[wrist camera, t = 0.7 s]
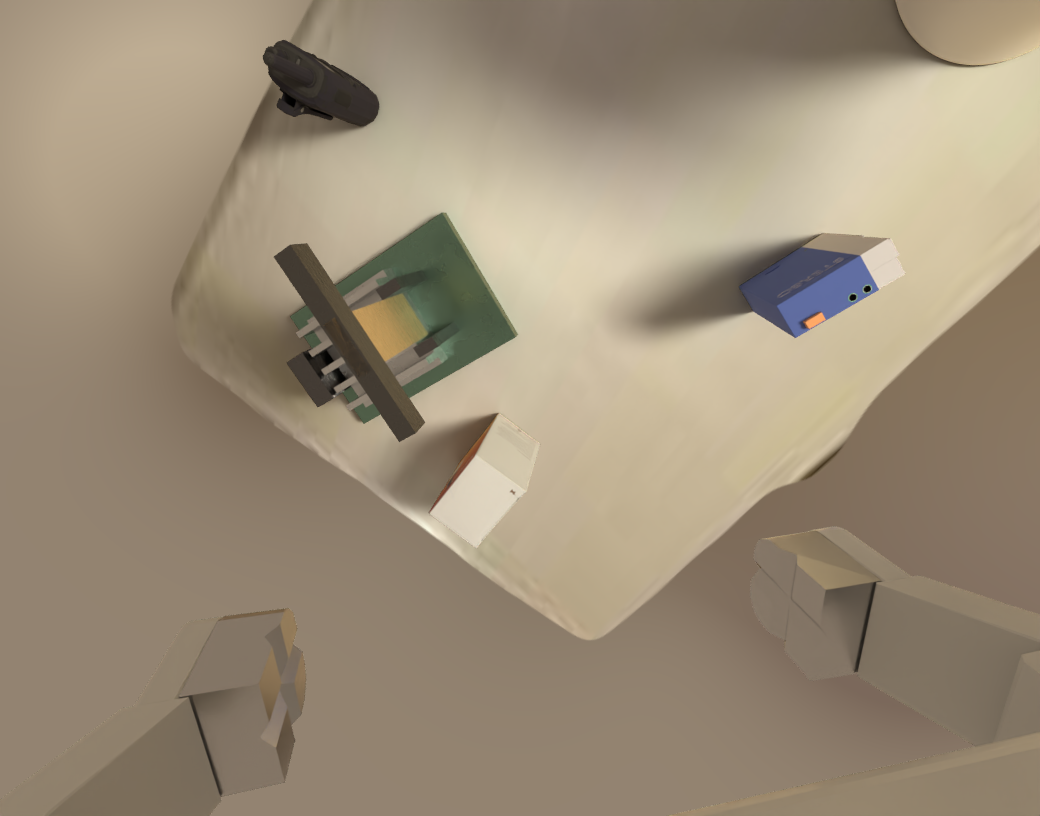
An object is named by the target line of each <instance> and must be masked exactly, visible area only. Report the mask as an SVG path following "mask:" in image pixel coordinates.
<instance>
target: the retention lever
mask: <svg viewBox="0 0 1040 816" xmlns="http://www.w3.org/2000/svg"><path fill="white" fill-rule="evenodd" d="M274 258H275V259H276V261H277V262H278V264H279V265H280V267H281V268H282V270H283V271H284V273H285V274H286V275H287V277H288V278H289V280H290V281H291V283H292V284H293V286H294V287H295V289H296V290H297V292H298V293H299V295H300V296H301V298H302V299H303V301H304V302H305V304H306V305H307V306H308V308H309V309H310V311H311V312H312V314H313V315H314V317H315V318H316V320H317V321H318V323H319V324H320V326H321V327H322V329H323V330H324V332H325V333H326V335H327V336H328V337H329V339H330V340H331V342H332V343H333V345H334V346H335V348H336V349H337V351H338V352H339V354H340V355H341V357H342V358H343V360H344V361H345V363H346V364H347V366H348V367H349V368H350V370H351V371H352V373H353V374H354V376H355V377H356V379H357V380H358V382H359V383H360V385H361V386H362V388H363V389H364V391H365V392H366V394H367V395H368V397H369V398H370V399H371V401H372V402H373V404H374V405H375V407H376V408H377V410H378V411H379V413H380V414H381V416H382V417H383V419H384V420H385V422H386V423H387V425H388V426H389V428H390V429H391V430H392V432H393V433H394V435H395V436H396V438H397V439H398V441H399V442H400V441H402V440H404V439H406V438H408V437H409V436H411V435H413V434H415V433H416V432H417V431H418V430H419V429H420V428H421V427H422V426H423V424H424V423H425V422H424V420H423V418H422V417H421V415H420V414H419V412H418V411H417V409H416V408H415V406H414V405H413V403H412V402H411V400H410V399H409V397H408V396H407V394H406V393H405V391H404V390H403V388H402V387H401V385H400V384H399V382H398V381H397V379H396V378H395V376H394V375H393V373H392V371H391V370H390V368H389V367H388V365H387V364H386V361H387V360H389V359H390V358H392V357H393V356H395V355H397V354H398V353H400V352H401V351H403V350H404V349H406V348H408V347H409V346H411V345H412V344H414V343H415V342H417V341H419V340H420V339H422V338H423V337H425V336H426V335H428V333H427V331H426V330H425V328H424V327H423V325H422V323H421V322H420V320H419V319H418V317H417V315H416V314H415V312H414V311H413V309H412V308H411V306H410V304H409V303H408V301H407V300H406V298H405V296H404V295H403V293H402V294H399V295H396V296H393V297H390V298H388V299H385V300H382V301H379V302H376V303H374V304H371V305H368V306H365V307H362V308H360V309H357V310H354V311H351V309H350V308H349V306H348V305H347V303H346V302H345V300H344V299H343V297H342V296H341V294H340V293H339V291H338V290H337V288H336V287H335V285H334V284H333V282H332V280H331V279H330V277H329V276H328V274H327V273H326V271H325V270H324V268H323V267H322V265H321V264H320V262H319V261H318V259H317V258H316V256H315V255H314V253H313V252H312V250H311V249H310V247H309V246H308V244H307V243H306V244H294V245H289V246H288V247H286V248H285V249H284V250H282V251H281V252H280V253H278V254H277V255H276V256H274Z"/></svg>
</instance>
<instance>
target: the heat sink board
mask: <svg viewBox="0 0 1040 816" xmlns="http://www.w3.org/2000/svg"><path fill="white" fill-rule="evenodd" d="M335 287H336V288H337V290H338V291H339V293H340V294H341V296H342V297H343V299H344V300H345V302H346V303H347V305H348V306H349V308H350V309H351V311H354V310H357V309H360V308H362V307H365V306H368V305H371V304H374V303H376V302H379V301H382V300H385V299H388V298H390V297H393V296H396V295H399V294H402V293H403V295H404V296H405V298H406V300H407V301H408V303H409V304H410V306H411V308H412V309H413V311H414V312H415V314H416V315H417V317H418V319H419V320H420V322H421V323H422V325H423V327H424V328H425V330H426V331H427V333H428V335H426V336H425V337H423V338H422V339H420V340H419V341H417V342H415V343H414V344H412V345H411V346H409V347H408V348H406V349H404V350H403V351H401V352H400V353H398V354H397V355H395V356H393V357H392V358H390V359H389V360H387V361H386V364H387V365H388V367H389V368H390V370H391V371H392V373H393V375H394V376H395V378H396V379H397V381H398V382H399V384H400V385H401V387H402V388H403V390H404V391H405V393H406V394H407V396H408V397H409V398H410V397H412V396H413V395H415V394H417V393H419V392H420V391H422V390H424V389H426V388H427V387H429V386H431V385H433V384H434V383H436V382H438V381H440V380H441V379H443V378H445V377H447V376H448V375H450V374H452V373H454V372H455V371H457V370H459V369H461V368H462V367H464V366H466V365H468V364H469V363H471V362H473V361H475V360H476V359H478V358H480V357H482V356H483V355H485V354H487V353H489V352H490V351H492V350H494V349H496V348H497V347H499V346H501V345H503V344H504V343H506V342H508V341H510V340H511V339H513V338H515V337H516V336H517V335H518V334H517V332H516V330H515V329H514V327H513V325H512V324H511V322H510V320H509V319H508V317H507V315H506V314H505V312H504V310H503V308H502V307H501V305H500V303H499V302H498V300H497V298H496V297H495V295H494V293H493V292H492V290H491V288H490V287H489V285H488V283H487V281H486V280H485V278H484V276H483V275H482V273H481V271H480V270H479V268H478V266H477V265H476V263H475V261H474V259H473V258H472V256H471V254H470V253H469V251H468V249H467V248H466V246H465V244H464V243H463V241H462V239H461V238H460V236H459V234H458V232H457V231H456V229H455V227H454V226H453V224H452V222H451V221H450V219H449V217H448V216H447V214H446V213H441V214H440V215H438V216H437V217H435V218H434V219H432V220H431V221H429V222H428V223H426V224H425V225H423V226H422V227H421V228H419V229H418V230H416V231H415V232H413V233H412V234H410V235H409V236H407V237H406V238H404V239H403V240H402V241H400V242H399V243H397V244H396V245H394V246H393V247H391V248H390V249H388V250H387V251H385V252H384V253H383V254H381V255H380V256H378V257H377V258H375V259H374V260H372V261H371V262H369V263H368V264H366V265H365V266H364V267H362V268H361V269H359V270H358V271H356V272H355V273H353V274H352V275H350V276H349V277H347V278H346V279H345V280H343V281H342V282H340V283H339V284H337V285H336V286H335ZM290 317H291V319H292V320H293V321H294V323H295V324H296V326H297V327H298V329H299V331H297V332H296V334H297V336H298V337H299V338H302V337H305V339H306V340H307V342H308V343H309V345H310V346H311V348H312V349H309V350H307V351H305V352H303V353H301V354H299V355H298V356H296V357H295V358H293V359H292V360H290V361H289V362H287V364H288V366H289V367H290V369H291V370H292V372H293V373H294V374H295V376H296V377H297V379H298V380H299V381H300V383H301V384H302V386H303V387H304V389H305V390H306V391H307V393H308V394H309V396H310V397H311V398H312V400H313V401H314V403H315V404H316V406H317V407H320V406H321V405H323V404H325V403H326V402H328V401H330V400H331V399H333V398H334V397H336V396H338V395H339V394H341V393H343V394H344V396H345V397H346V398H347V400H348V401H349V404H347V405H346V407H347V408H348V410H349V411H350V410H352V409H354V410H355V412H356V413H357V414H358V416H359V417H360V419H361V420H362V422H363V423H366V422H368V421H370V420H371V419H373V418H375V417H377V416H378V415H380V413H379V411H378V410H377V408H376V407H375V405H374V404H373V402H372V401H371V399H370V398H369V397H368V395H367V394H366V392H365V391H364V389H363V388H362V386H361V385H360V383H359V382H358V380H357V379H356V377H355V376H354V374H353V373H352V371H351V370H350V368H349V367H348V366H347V364H346V363H345V361H344V360H343V358H342V357H341V355H340V354H339V352H338V351H337V349H336V348H335V346H334V345H333V343H332V342H331V340H330V339H329V337H328V336H327V335H326V333H325V332H324V330H323V329H322V327H321V326H320V324H319V323H318V321H317V320H316V318H315V317H314V315H313V314H312V312H311V311H310V309H309V308H308V306H305V307H304V308H302V309H301V310H299V311H298V312H296V313H295V314H293V315H292V316H290Z"/></svg>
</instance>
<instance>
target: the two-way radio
mask: <svg viewBox="0 0 1040 816" xmlns="http://www.w3.org/2000/svg"><path fill="white" fill-rule="evenodd" d="M263 60H264V63H265V64H266V65H268V70H269V72H268V73H269V75H270V77H271V79H272V80H273V81H274V82H275V83H276V84H277V85H278V86H279V87H280V90H281V91H282V92H283V96H282V99H280V98H279V101H278V103H277V108H279V109H280V110H281V111H283V112H284V113H286V114H288V115H291V116H293V117H296V116H298V115H302V114H311V115H315V116H318V117H321V118H324V119H327V120H332V119H333V118H334V117H336V118H339V119H341V120H344V121H347V122H349V123H352V124H355V125H359V126H366V125H367V124H369V123H370V122H372V121H374V119H375V118H376V116H377V114H378V110H379V102H378V99H377V96H376V95H375V94H374V93H373V92H372V91H371V90H369V88H368V87H366V86H365V85H364V84H362V83H361V82H360V81H358V80H357V79H355V78H354V77H352V76H351V75H349V74H347V73H346V72H344V71H342V70H340V69H339V68H337V67H335V66H333V65H330V64H328V63H327V62H326V61H325V60H323V59H319V58H317V57H316V56H315V55H314V54H310V53H308V52H305V51H303V50H301V49H300V48H298V47H296V46H295V45H293V44H291V43H290V42H288V41H285V40H282V41H279V42H277V43H276V44H275V45H274V47H268V48H266V51H265V53H264V55H263ZM296 100H297V101H296Z"/></svg>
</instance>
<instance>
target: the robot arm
mask: <svg viewBox="0 0 1040 816" xmlns="http://www.w3.org/2000/svg"><path fill="white" fill-rule="evenodd" d="M895 1H896V5H897V8H898V11H899V14H900V17H901V19H902V21H903V23H904V25H905V27H906V29H907V30H908V32H909V33H910V34H911V36H912V37H913V38H914V39H915V41H916V42H917V43H919V44H920V45H921V46H922V47H923V48H924V49H926V50H927V51H928V52H930V53H931V54H933V55H935V56H937V57H939V58H941V59H944V60H947V61H950V62H953V63H958V64H965V65H986V64H993V63H999V62H1003V61H1007V60H1010V59H1013V58H1016V57H1019V56H1021V55H1024V54H1026V53H1028V52H1030V51H1032V50H1034V49H1036V48H1038V47H1040V0H895ZM754 561H755V562H756V563H757V565H758V566H759V567H760V569H759V570H758V571H757V573H756V574H755V575H754V577H753V578H752V579H751V586H750V598H751V601H752V606H753V610H754V612H755V614H756V616H757V618H758V620H759V622H760V623H761V624H762V626H764V628H765V629H766V630H767V632H768V633H771V634H772V635H775V636H776V637H779V638H780V639H783V640H784V652H785V653H786V654H787V655H788V656H789V657H790V658H791V660H792V661H793V662H794V663H795V664H796V665H797V666H798V668H799V669H800V670H801V671H802V672H803V673H804V675H805V676H806V677H807V678H808V679H809V680H810V681H813V680H820V679H826V678H832V677H839V676H844V675H851V674H857V676H858V677H859V678H861V679H863V680H865V681H866V682H868V683H869V684H871V685H873V686H874V687H876V688H878V689H879V690H881V691H883V692H885V693H886V694H888V695H890V696H891V697H893V698H895V699H896V700H898V701H900V702H901V703H903V704H905V705H907V706H908V707H910V708H911V709H913V710H915V711H917V712H918V713H920V714H922V715H923V716H925V717H927V718H928V719H930V720H932V721H933V722H935V723H937V724H939V725H940V726H942V727H944V728H945V729H947V730H949V731H950V732H952V733H954V734H955V735H957V736H959V737H960V738H962V739H964V740H966V741H967V742H969V743H971V744H972V745H974V746H975V747H970V748H966V749H961V750H957V751H953V752H949V753H944V754H939V755H935V756H930V757H926V758H921V759H917V760H913V761H908V762H904V763H900V764H895V765H891V766H886V767H881V768H877V769H872V770H868V771H864V772H859V773H855V774H850V775H846V776H842V777H837V778H832V779H828V780H824V781H819V782H815V783H810V784H806V785H801V786H797V787H793V788H789V789H784V790H780V791H775V792H770V793H766V794H762V795H757V796H753V797H748V798H744V799H739V800H735V801H731V802H726V803H722V804H717V805H713V806H708V807H704V808H699V809H695V810H690V811H686V812H681V813H677V814H673V815H668V816H1040V615H1039V614H1036V613H1033V612H1030V611H1027V610H1024V609H1021V608H1018V607H1015V606H1012V605H1008V604H1006V603H1002V602H999V601H996V600H993V599H990V598H987V597H984V596H981V595H978V594H975V593H972V592H969V591H966V590H962V589H960V588H956V587H953V586H950V585H947V584H944V583H941V582H938V581H935V580H932V579H929V578H926V577H923V576H913V577H911V576H910V575H909V574H907V573H906V572H904V571H903V570H902V569H900V568H898V567H897V566H896V565H895V564H893V563H892V562H890V561H889V560H887V559H886V558H884V557H883V556H882V555H880V554H879V553H878V552H876V551H875V550H873V549H872V548H870V547H869V546H868V545H866V544H865V543H864V542H862V541H861V540H859V539H858V538H857V537H855V536H854V535H852V534H850V533H849V532H848V531H847V530H845V529H843V528H839V527H836V526H833V527H828V528H822V529H817V530H811V531H809V532H804V533H798V534H791V535H785V536H778V537H772V538H765V539H759V541H758V543H757V544H756V546H755V551H754ZM296 632H297V625H296V622H295V618H294V614H293V612H292V611H291V610H290V609H289V608H285V609H277V610H269V611H261V612H254V613H246V614H238V615H230V616H224V617H215V618H209V619H201V620H195V621H189V622H188V623H186V624H185V625H183V626H182V627H181V629H180V630H179V632H178V633H177V635H176V637H175V639H174V640H173V642H172V643H171V645H170V647H169V648H168V650H167V652H166V654H165V655H164V657H163V659H162V660H161V662H160V664H159V665H158V667H157V669H156V670H155V672H154V674H153V675H152V677H151V679H150V680H149V682H148V684H147V686H146V687H145V689H144V690H143V692H142V694H141V695H140V697H139V699H138V701H137V702H136V704H135V705H134V706H132V707H126V708H122V709H121V710H119V711H118V712H117V713H116V714H114V715H113V716H111V717H110V718H109V719H107V720H106V721H105V722H103V723H102V724H101V725H100V726H98V727H97V728H95V729H94V730H93V731H91V732H90V733H89V734H87V735H86V736H85V737H83V738H82V739H81V740H79V741H78V742H76V743H75V744H74V745H72V746H71V747H70V748H68V749H67V750H66V751H65V752H63V753H62V754H61V755H59V756H58V757H57V758H55V759H54V760H53V761H51V762H50V763H48V764H47V765H46V766H44V767H43V768H42V769H40V770H39V771H38V772H36V773H35V774H34V775H32V776H31V777H30V778H28V779H27V780H26V781H24V782H23V783H22V784H20V785H19V786H18V787H16V788H15V789H14V790H12V791H11V792H10V793H8V794H7V795H6V796H4V797H3V798H2V799H0V816H209V815H210V814H211V813H212V812H213V810H214V809H215V808H216V807H217V805H218V804H219V803H220V802H221V797H222V796H227V795H232V794H236V793H240V792H245V791H249V790H253V789H258V788H262V787H267V786H272V785H276V784H281V783H284V782H285V779H286V775H287V772H288V767H289V763H290V759H291V755H292V751H293V747H294V743H295V738H294V734H293V729H292V724H293V723H294V722H295V721H296V720H297V719H298V718H299V717H300V716H301V714H302V709H303V705H304V700H305V690H306V670H305V662H304V657H303V652H302V651H301V650H300V649H299V648H298V647H296V646H295V645H294V644H293V642H294V639H295V635H296Z"/></svg>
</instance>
